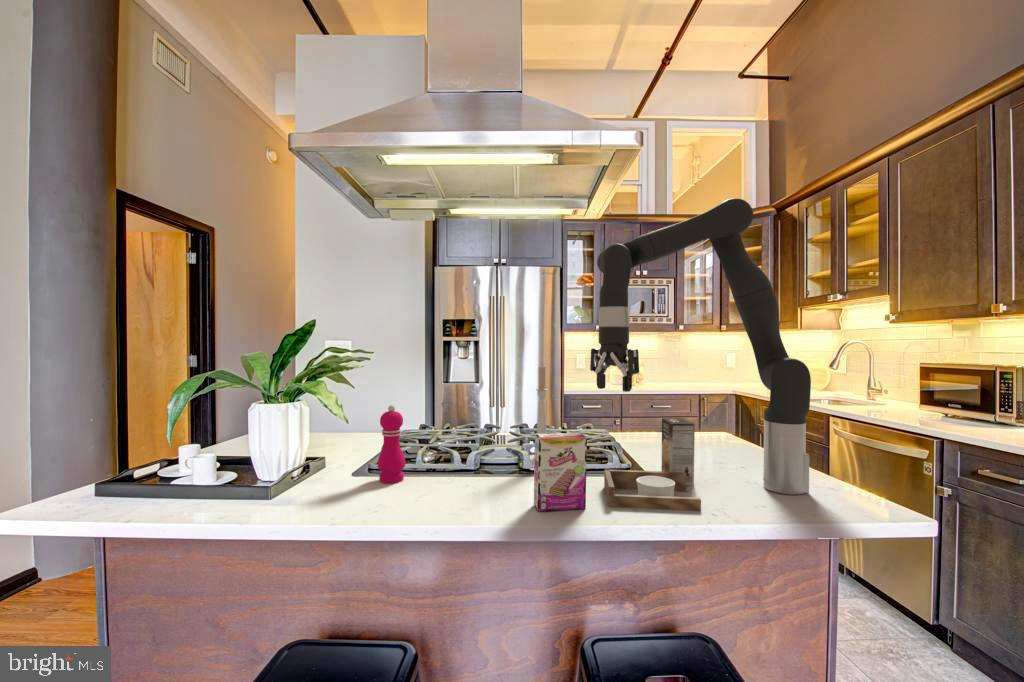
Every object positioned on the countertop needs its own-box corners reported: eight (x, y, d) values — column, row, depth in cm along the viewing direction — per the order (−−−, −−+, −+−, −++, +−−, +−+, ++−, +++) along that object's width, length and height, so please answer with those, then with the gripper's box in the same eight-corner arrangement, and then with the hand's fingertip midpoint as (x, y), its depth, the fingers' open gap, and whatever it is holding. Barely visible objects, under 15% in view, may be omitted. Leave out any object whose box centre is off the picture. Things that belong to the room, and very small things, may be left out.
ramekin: (629, 494, 118) (629, 476, 118) (661, 491, 120) (661, 474, 120) (649, 507, 109) (649, 487, 109) (683, 503, 112) (683, 484, 112)
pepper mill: (411, 478, 130) (411, 404, 129) (391, 485, 124) (391, 408, 123) (392, 474, 133) (392, 402, 133) (371, 481, 127) (371, 405, 127)
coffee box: (660, 474, 134) (660, 417, 134) (683, 475, 134) (683, 417, 134) (670, 485, 125) (671, 423, 125) (695, 485, 125) (695, 423, 125)
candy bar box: (538, 513, 105) (538, 437, 105) (533, 505, 110) (533, 433, 110) (587, 510, 107) (587, 436, 107) (580, 502, 112) (580, 431, 112)
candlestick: (524, 459, 150) (524, 363, 150) (565, 461, 148) (565, 364, 148) (516, 470, 138) (516, 366, 138) (561, 473, 135) (561, 366, 135)
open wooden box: (685, 490, 121) (685, 472, 121) (700, 510, 107) (701, 490, 106) (604, 486, 123) (604, 469, 123) (608, 506, 109) (609, 486, 109)
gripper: (646, 325, 117) (646, 391, 117) (603, 326, 129) (603, 386, 129) (625, 324, 113) (625, 393, 113) (583, 325, 125) (583, 388, 125)
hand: (613, 389), depth 121 cm, fingers open, 8 cm apart
